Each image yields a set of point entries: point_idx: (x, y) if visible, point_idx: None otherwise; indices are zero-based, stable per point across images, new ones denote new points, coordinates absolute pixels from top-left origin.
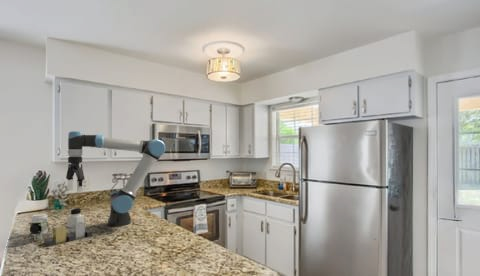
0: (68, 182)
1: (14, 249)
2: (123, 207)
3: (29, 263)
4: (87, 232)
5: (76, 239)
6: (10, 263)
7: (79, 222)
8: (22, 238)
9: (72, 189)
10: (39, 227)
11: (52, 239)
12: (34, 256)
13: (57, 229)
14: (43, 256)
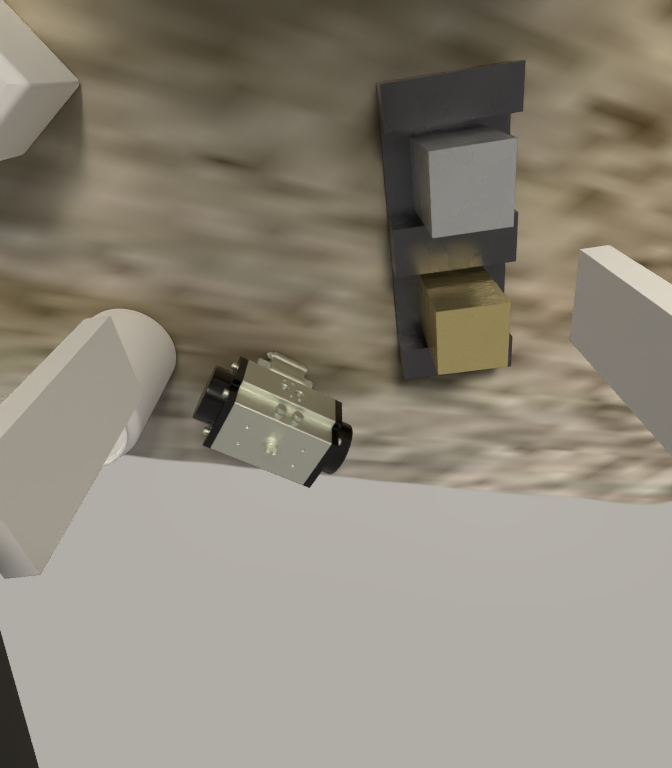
0: (72, 510)
1: (381, 467)
2: None
3: None
4: (518, 111)
5: None
6: (586, 490)
7: (441, 172)
8: (174, 425)
9: (108, 325)
10: (340, 428)
11: None
12: (588, 421)
13: (507, 355)
14: None
